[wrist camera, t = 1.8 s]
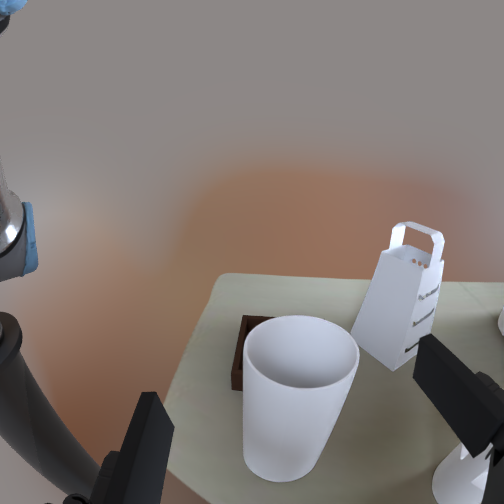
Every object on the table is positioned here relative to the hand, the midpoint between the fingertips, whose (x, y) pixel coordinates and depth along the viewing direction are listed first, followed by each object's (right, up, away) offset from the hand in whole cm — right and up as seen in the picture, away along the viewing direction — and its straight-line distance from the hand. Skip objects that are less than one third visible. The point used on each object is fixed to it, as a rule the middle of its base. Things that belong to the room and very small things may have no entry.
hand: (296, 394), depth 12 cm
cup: (+1, -15, +13) cm, 20 cm away
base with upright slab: (+21, -19, +3) cm, 29 cm away
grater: (+21, -9, +30) cm, 37 cm away
